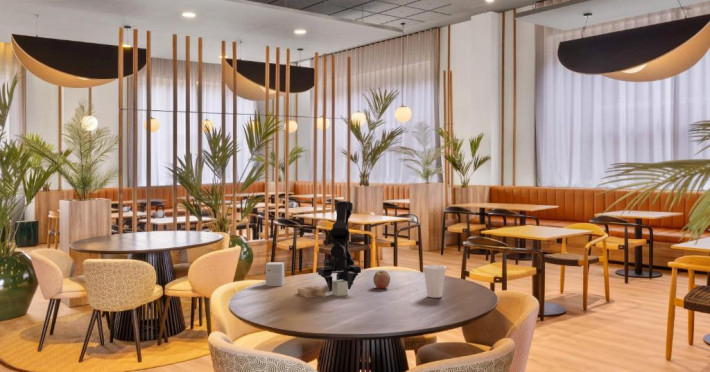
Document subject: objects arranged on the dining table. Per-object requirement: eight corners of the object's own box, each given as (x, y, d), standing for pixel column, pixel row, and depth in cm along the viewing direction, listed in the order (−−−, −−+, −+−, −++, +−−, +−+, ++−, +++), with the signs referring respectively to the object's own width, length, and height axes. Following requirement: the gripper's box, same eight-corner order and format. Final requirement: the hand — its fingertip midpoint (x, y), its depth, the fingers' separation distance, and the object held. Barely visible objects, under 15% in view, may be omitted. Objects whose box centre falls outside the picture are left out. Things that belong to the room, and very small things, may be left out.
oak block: (316, 292, 265) (316, 285, 265) (325, 296, 257) (325, 289, 257) (297, 294, 260) (297, 287, 260) (306, 298, 252) (306, 291, 252)
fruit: (370, 289, 269) (370, 271, 269) (376, 286, 277) (376, 269, 276) (387, 290, 266) (387, 273, 266) (392, 287, 274) (392, 270, 274)
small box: (284, 284, 282) (284, 262, 282) (282, 286, 277) (282, 264, 277) (268, 283, 283) (268, 262, 283) (265, 286, 278) (265, 263, 277)
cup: (449, 295, 255) (449, 265, 255) (442, 300, 246) (442, 269, 246) (427, 293, 259) (427, 264, 259) (419, 298, 250) (419, 267, 250)
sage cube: (342, 292, 262) (342, 279, 262) (347, 294, 258) (347, 281, 257) (332, 294, 260) (332, 280, 259) (337, 296, 255) (337, 282, 255)
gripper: (349, 251, 270) (349, 284, 270) (312, 254, 261) (312, 289, 261) (361, 254, 260) (361, 289, 260) (323, 257, 251) (323, 293, 251)
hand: (339, 290), depth 259 cm, fingers open, 9 cm apart
